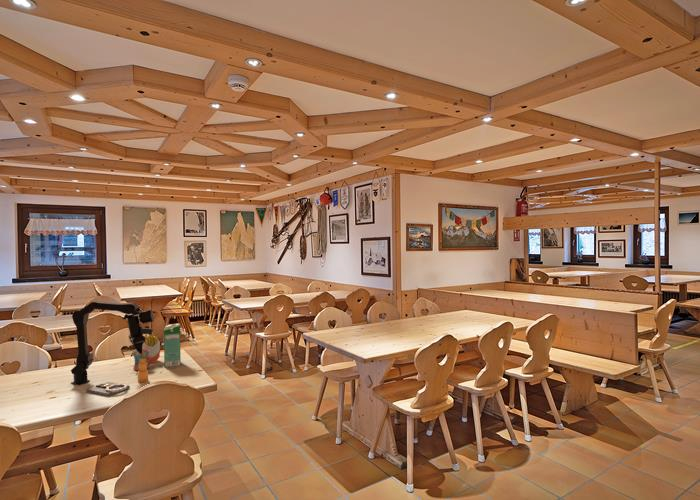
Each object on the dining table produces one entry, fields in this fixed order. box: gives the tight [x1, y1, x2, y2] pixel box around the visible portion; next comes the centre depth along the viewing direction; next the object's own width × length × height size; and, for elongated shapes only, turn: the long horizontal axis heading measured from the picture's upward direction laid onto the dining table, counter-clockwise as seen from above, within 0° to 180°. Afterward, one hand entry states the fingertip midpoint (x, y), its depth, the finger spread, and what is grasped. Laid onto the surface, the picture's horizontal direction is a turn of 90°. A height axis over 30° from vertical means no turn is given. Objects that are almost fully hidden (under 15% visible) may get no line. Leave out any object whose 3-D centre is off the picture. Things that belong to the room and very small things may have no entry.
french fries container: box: [142, 332, 161, 365], centre depth 261 cm, size 5×11×18 cm, turn 156°
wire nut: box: [137, 359, 149, 384], centre depth 226 cm, size 5×5×12 cm
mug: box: [131, 349, 151, 371], centre depth 247 cm, size 12×9×11 cm
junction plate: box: [85, 381, 131, 397], centre depth 211 cm, size 18×12×2 cm, turn 68°
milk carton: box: [163, 322, 182, 368], centre depth 255 cm, size 9×9×25 cm
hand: (139, 352), depth 230 cm, fingers open, 9 cm apart
